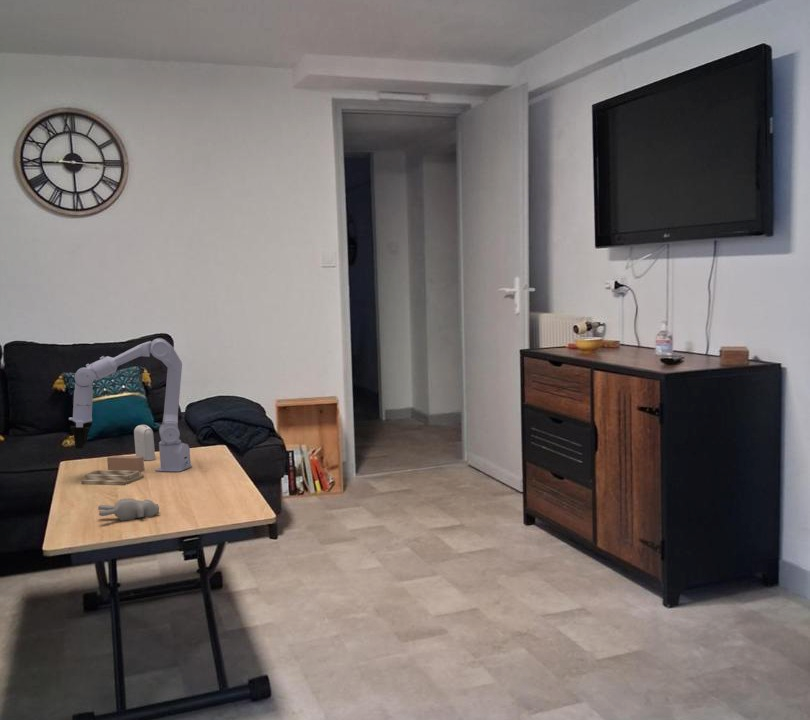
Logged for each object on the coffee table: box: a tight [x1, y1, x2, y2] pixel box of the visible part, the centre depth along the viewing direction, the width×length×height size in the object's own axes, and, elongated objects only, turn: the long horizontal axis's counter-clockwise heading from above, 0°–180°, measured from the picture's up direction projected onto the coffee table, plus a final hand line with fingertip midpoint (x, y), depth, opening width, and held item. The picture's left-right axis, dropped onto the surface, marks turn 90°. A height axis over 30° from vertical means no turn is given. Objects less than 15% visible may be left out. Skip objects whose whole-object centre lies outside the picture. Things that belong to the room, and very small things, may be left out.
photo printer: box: [133, 424, 156, 461], centre depth 294 cm, size 10×4×12 cm, turn 39°
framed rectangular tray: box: [80, 469, 144, 486], centre depth 261 cm, size 16×10×2 cm, turn 75°
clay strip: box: [106, 455, 145, 473], centre depth 274 cm, size 12×3×5 cm, turn 74°
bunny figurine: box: [97, 498, 160, 522], centre depth 216 cm, size 10×5×15 cm
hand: (80, 446), depth 264 cm, fingers open, 7 cm apart
